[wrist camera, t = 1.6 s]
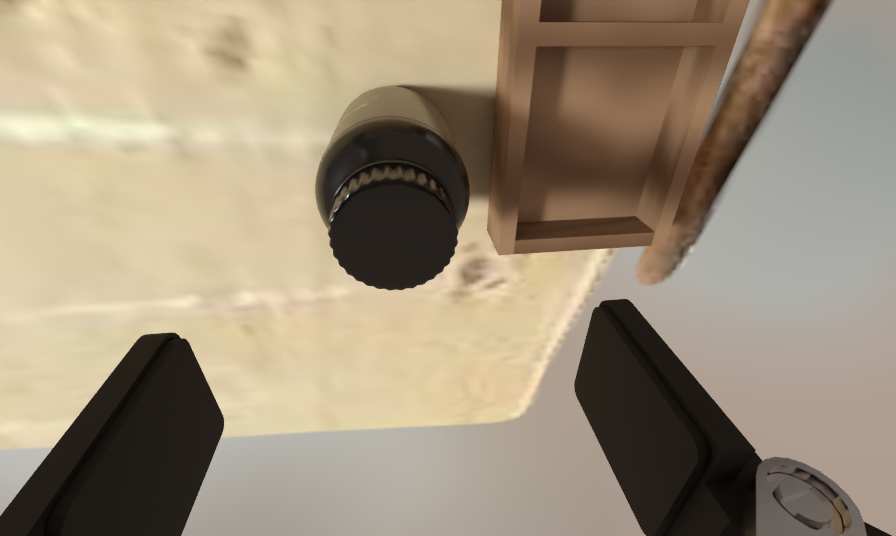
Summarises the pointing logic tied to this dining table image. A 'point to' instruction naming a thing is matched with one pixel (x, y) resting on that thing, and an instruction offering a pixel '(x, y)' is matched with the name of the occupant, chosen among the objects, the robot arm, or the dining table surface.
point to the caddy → (601, 117)
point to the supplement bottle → (392, 189)
